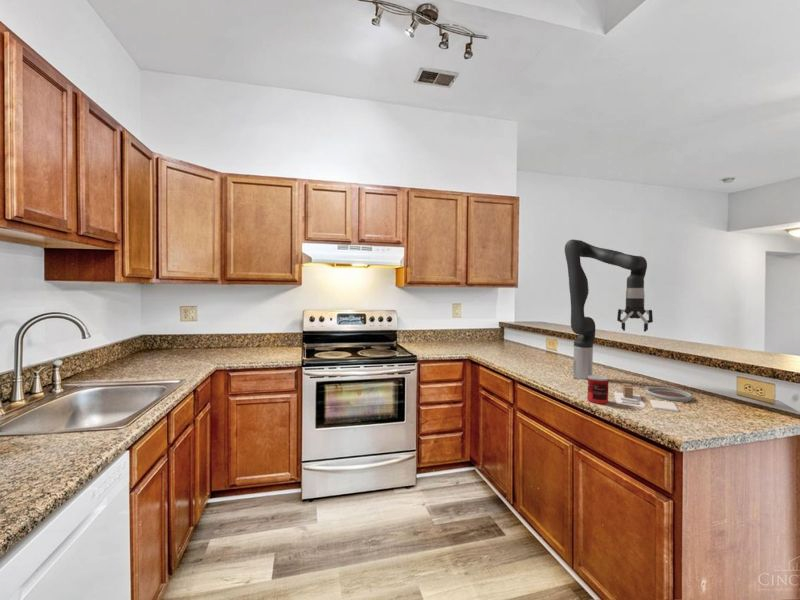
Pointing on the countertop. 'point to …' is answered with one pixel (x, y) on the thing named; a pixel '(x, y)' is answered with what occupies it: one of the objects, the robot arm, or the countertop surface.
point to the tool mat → (618, 401)
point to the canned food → (598, 389)
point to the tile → (664, 405)
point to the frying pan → (667, 393)
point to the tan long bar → (628, 395)
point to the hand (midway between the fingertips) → (634, 330)
